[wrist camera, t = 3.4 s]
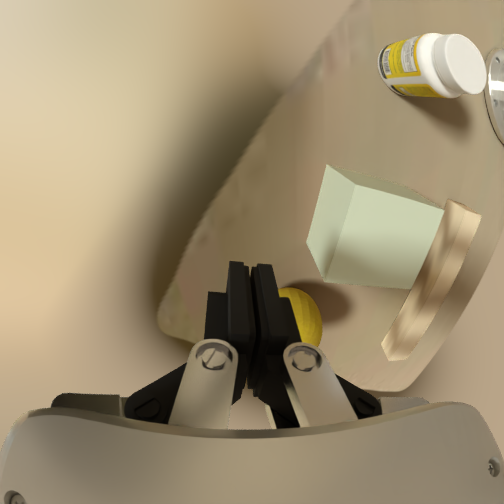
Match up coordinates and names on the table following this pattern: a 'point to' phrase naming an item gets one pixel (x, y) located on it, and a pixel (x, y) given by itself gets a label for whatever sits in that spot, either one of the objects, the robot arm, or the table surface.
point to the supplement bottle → (433, 66)
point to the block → (370, 230)
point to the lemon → (305, 315)
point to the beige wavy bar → (433, 279)
